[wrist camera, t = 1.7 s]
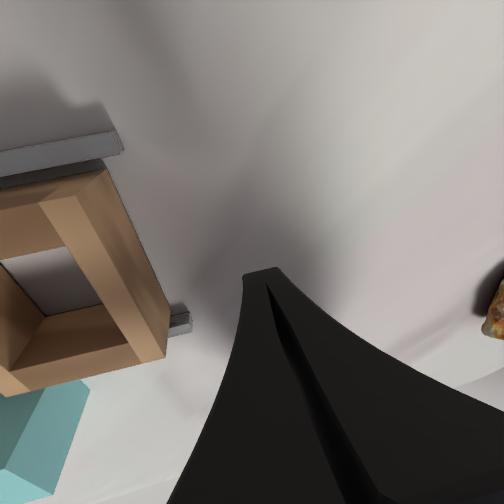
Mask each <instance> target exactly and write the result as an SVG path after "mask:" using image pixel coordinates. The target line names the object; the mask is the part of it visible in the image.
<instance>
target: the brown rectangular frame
mask: <svg viewBox="0 0 504 504" xmlns="http://www.w3.org/2000/svg"><path fill="white" fill-rule="evenodd" d="M64 246H66V247H67V248H68V250H69V251H70V253H71V254H72V256H73V257H74V259H75V261H76V262H77V264H78V265H79V267H80V268H81V270H82V271H83V273H84V274H85V276H86V278H87V279H88V281H89V282H90V284H91V285H92V287H93V288H94V290H95V291H96V293H97V295H98V296H99V298H100V299H101V301H102V302H103V304H101V305H96V306H92V307H88V308H83V309H79V310H75V311H70V312H66V313H61V314H57V315H53V316H48V317H45V316H44V315H43V314H42V313H41V312H40V310H39V309H38V308H37V307H36V306H35V305H34V303H33V302H32V301H31V300H30V299H29V298H28V296H27V295H26V294H25V293H24V292H23V290H22V289H21V288H20V287H19V286H18V285H17V283H16V282H15V281H14V280H13V279H12V278H11V276H10V275H9V274H8V273H7V272H6V271H5V269H4V268H3V267H2V266H1V265H0V393H1V394H3V395H4V396H5V397H10V396H14V395H18V394H22V393H26V392H30V391H34V390H38V389H42V388H46V387H50V386H54V385H58V384H62V383H66V382H70V381H74V380H78V379H82V378H86V377H90V376H94V375H98V374H102V373H106V372H111V371H115V370H119V369H123V368H127V367H131V366H135V365H139V364H143V363H147V362H151V361H155V360H159V359H163V358H165V356H166V348H167V339H168V331H169V323H170V314H171V309H170V307H169V305H168V303H167V300H166V298H165V296H164V294H163V292H162V289H161V287H160V285H159V283H158V281H157V278H156V276H155V274H154V272H153V270H152V267H151V265H150V263H149V261H148V259H147V256H146V254H145V252H144V250H143V248H142V245H141V243H140V241H139V239H138V237H137V235H136V232H135V230H134V228H133V226H132V224H131V221H130V219H129V217H128V215H127V213H126V210H125V208H124V206H123V204H122V202H121V199H120V197H119V195H118V193H117V191H116V188H115V186H114V184H113V182H112V180H111V177H110V175H109V173H108V171H107V169H101V170H96V171H91V172H86V173H81V174H76V175H70V176H65V177H60V178H55V179H50V180H45V181H40V182H35V183H29V184H24V185H19V186H14V187H9V188H4V189H0V260H3V259H7V258H12V257H17V256H22V255H26V254H31V253H36V252H40V251H45V250H50V249H54V248H59V247H64Z"/></svg>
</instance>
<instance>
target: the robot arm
mask: <svg viewBox="0 0 504 504" xmlns="http://www.w3.org/2000/svg"><path fill="white" fill-rule="evenodd" d="M242 280H243V295H242V305H241V311H240V318H239V323H238V327H237V332H236V336H235V341H234V344H233V348H232V352H231V355H230V358H229V362H228V365H227V368H226V371H225V374H224V377H223V380H222V382H221V385H220V388H219V391H218V393H217V396H216V399H215V401H214V404H213V406H212V409H211V411H210V413H209V415H208V418H207V420H206V422H205V425H204V427H203V429H202V431H201V434H200V436H199V438H198V441H197V443H196V445H195V447H194V449H193V451H192V454H191V456H190V458H189V460H188V462H187V464H186V466H185V468H184V470H183V472H182V474H181V476H180V478H179V480H178V482H177V484H176V486H175V488H174V490H173V492H172V494H171V496H170V498H169V500H168V502H167V503H166V504H504V412H503V411H501V410H499V409H497V408H495V407H492V406H490V405H488V404H486V403H483V402H481V401H479V400H477V399H474V398H472V397H470V396H468V395H466V394H463V393H461V392H459V391H457V390H455V389H452V388H450V387H448V386H446V385H444V384H442V383H440V382H438V381H436V380H434V379H432V378H430V377H428V376H426V375H424V374H422V373H420V372H418V371H417V370H415V369H413V368H411V367H410V366H408V365H406V364H404V363H402V362H401V361H399V360H397V359H395V358H394V357H392V356H390V355H388V354H386V353H385V352H383V351H381V350H379V349H378V348H376V347H375V346H373V345H371V344H370V343H368V342H367V341H365V340H364V339H362V338H360V337H359V336H357V335H356V334H355V333H353V332H352V331H350V330H349V329H347V328H346V327H344V326H343V325H342V324H340V323H339V322H338V321H336V320H335V319H334V318H332V317H331V316H330V315H328V314H327V313H326V312H325V311H323V310H322V309H321V308H320V307H318V306H317V305H316V304H315V303H314V302H313V301H312V300H310V299H309V298H308V297H307V296H306V295H305V294H304V293H303V292H301V291H300V290H299V289H298V288H297V287H296V286H295V285H294V284H293V283H292V282H291V281H290V280H289V279H288V278H287V277H286V276H285V275H284V273H283V272H282V271H281V270H280V269H279V268H277V267H273V268H269V269H265V270H260V271H256V272H252V273H248V274H244V275H243V277H242Z"/></svg>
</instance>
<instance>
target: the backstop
mask: <svg viewBox="0 0 504 504" xmlns="http://www.w3.org/2000/svg"><path fill="white" fill-rule="evenodd" d="M123 150H124V149H123V146H122V144H121V141H120V139H119V136H118V134H117V131H116V130H113V131H107V132H102V133H97V134H91V135H86V136H80V137H75V138H70V139H64V140H59V141H53V142H48V143H43V144H37V145H32V146H26V147H21V148H16V149H10V150H5V151H0V177H3V176H8V175H13V174H19V173H24V172H29V171H34V170H40V169H45V168H50V167H55V166H60V165H66V164H71V163H76V162H81V161H87V160H92V159H97V158H102V157H107V156H113V155H118V154H119V153H121V152H122V151H123ZM192 326H193V320H192V318H191V315H190V313H189V312H187V313H183V314H179V315H175V316H170V323H169V331H168V338H170V337H174V336H178V335H182V334H186V333H190V332H192Z"/></svg>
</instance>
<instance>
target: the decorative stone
mask: <svg viewBox="0 0 504 504" xmlns="http://www.w3.org/2000/svg"><path fill="white" fill-rule="evenodd" d="M481 331H482V333H483V334H484V335H486V336H489V337H492V338H496V339H500V340H504V279H503V280H502V281H501V284H500V286H499V289H498V290H497V292H496V295H495V297H494V299H493V302H492V303H491V305H490V307H489V309H488V314H487V318H486V321H485V323H484V324H483V325H482V328H481Z"/></svg>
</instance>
